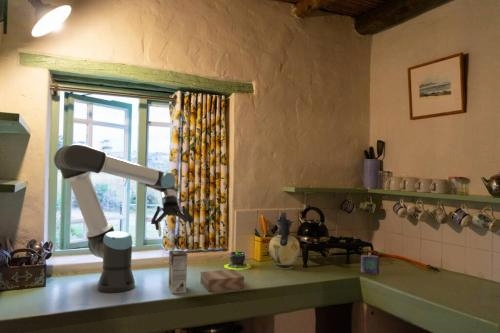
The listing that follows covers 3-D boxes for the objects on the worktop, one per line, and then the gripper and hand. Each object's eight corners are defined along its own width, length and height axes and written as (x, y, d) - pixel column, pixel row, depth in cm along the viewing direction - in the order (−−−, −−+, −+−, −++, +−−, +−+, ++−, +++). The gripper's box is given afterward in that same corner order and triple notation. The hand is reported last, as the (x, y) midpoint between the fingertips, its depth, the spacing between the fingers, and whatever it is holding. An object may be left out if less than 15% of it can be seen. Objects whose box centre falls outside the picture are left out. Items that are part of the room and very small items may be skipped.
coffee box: (168, 287, 154) (169, 250, 155) (182, 286, 157) (183, 249, 157) (171, 294, 146) (172, 254, 147) (186, 292, 148) (187, 253, 149)
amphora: (267, 263, 204) (267, 211, 205) (296, 263, 205) (296, 211, 206) (270, 271, 186) (271, 213, 188) (302, 271, 187) (302, 214, 188)
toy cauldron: (234, 262, 206) (234, 243, 206) (256, 266, 198) (256, 246, 198) (218, 267, 193) (218, 247, 193) (241, 271, 185) (241, 250, 185)
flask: (361, 273, 185) (361, 252, 185) (360, 271, 188) (360, 251, 188) (379, 274, 183) (379, 253, 184) (378, 273, 186) (378, 252, 186)
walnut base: (208, 292, 149) (208, 280, 150) (200, 283, 162) (200, 272, 163) (243, 288, 155) (244, 276, 156) (233, 279, 168) (233, 269, 169)
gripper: (192, 204, 188) (199, 237, 173) (143, 205, 178) (146, 240, 163) (194, 195, 183) (202, 228, 169) (145, 195, 173) (148, 230, 159)
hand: (174, 234), depth 166 cm, fingers open, 13 cm apart
